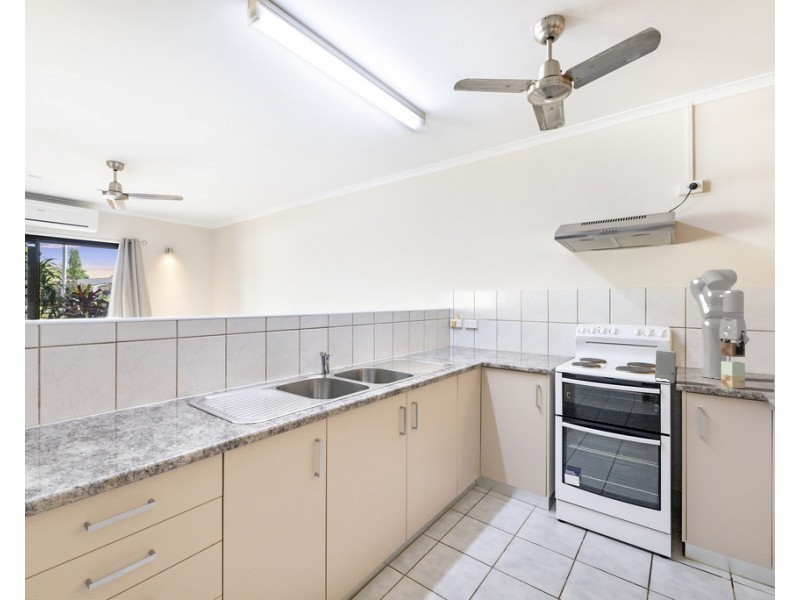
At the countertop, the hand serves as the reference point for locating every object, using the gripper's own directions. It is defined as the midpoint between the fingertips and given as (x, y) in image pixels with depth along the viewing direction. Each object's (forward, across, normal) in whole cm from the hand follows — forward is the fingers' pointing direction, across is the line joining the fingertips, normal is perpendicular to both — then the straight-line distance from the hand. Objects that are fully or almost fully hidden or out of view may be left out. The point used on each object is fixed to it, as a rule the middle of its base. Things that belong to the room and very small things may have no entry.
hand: (733, 353), depth 179 cm
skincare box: (+16, -13, -23) cm, 31 cm away
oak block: (+16, 0, 0) cm, 16 cm away
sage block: (+10, 0, 0) cm, 10 cm away
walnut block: (+1, 0, 0) cm, 1 cm away
